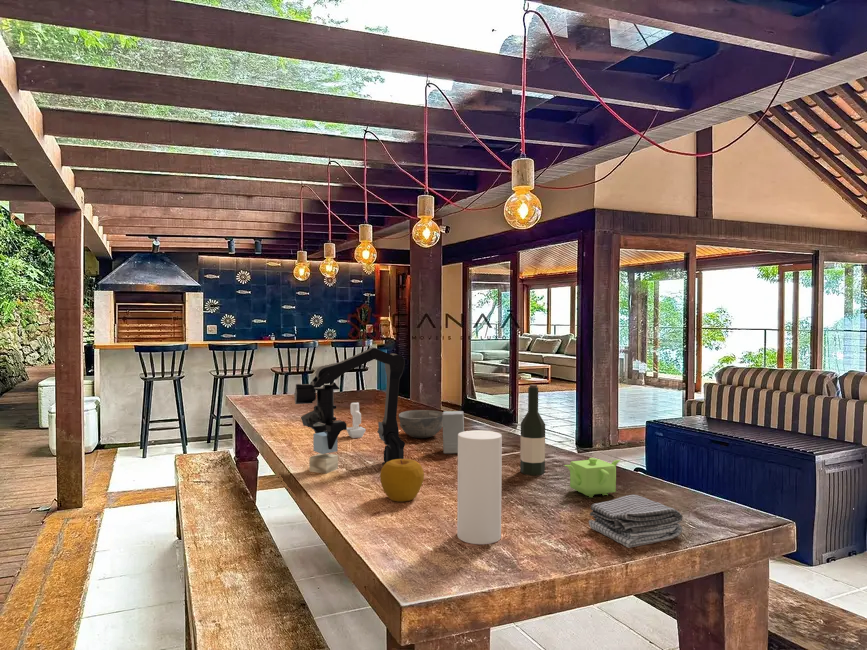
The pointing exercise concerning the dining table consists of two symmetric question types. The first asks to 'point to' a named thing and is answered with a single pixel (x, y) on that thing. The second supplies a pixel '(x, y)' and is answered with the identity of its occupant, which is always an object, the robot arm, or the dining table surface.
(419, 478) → the apple
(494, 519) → the tall pillar cylinder
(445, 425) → the skincare box
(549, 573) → the dining table surface
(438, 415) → the bowl
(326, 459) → the birch block
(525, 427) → the wine bottle
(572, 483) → the teapot
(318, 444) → the blue cube
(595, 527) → the towel
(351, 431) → the figurine
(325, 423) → the robot arm
